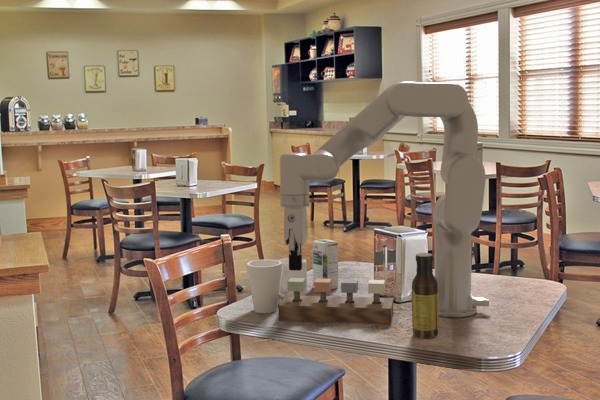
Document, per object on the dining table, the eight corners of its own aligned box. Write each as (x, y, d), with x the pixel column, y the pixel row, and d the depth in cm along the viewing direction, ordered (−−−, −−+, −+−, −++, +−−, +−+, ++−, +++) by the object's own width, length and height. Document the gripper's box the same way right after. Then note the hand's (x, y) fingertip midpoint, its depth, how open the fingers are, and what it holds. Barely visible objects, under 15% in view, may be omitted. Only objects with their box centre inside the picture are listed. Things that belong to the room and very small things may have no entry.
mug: (291, 303, 209) (290, 267, 208) (266, 300, 213) (265, 264, 212) (312, 293, 219) (311, 259, 218) (287, 290, 224) (287, 256, 222)
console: (393, 312, 198) (393, 298, 198) (391, 324, 189) (391, 308, 188) (286, 309, 203) (285, 295, 203) (278, 320, 194) (278, 305, 193)
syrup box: (312, 288, 226) (311, 240, 224) (326, 284, 230) (325, 238, 228) (325, 291, 221) (324, 243, 219) (339, 287, 225) (338, 240, 223)
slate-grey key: (358, 303, 197) (358, 279, 196) (356, 308, 193) (356, 283, 192) (343, 303, 197) (342, 279, 196) (341, 307, 193) (341, 282, 193)
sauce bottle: (423, 329, 184) (423, 250, 181) (443, 335, 179) (444, 253, 176) (406, 335, 179) (406, 254, 177) (427, 341, 175) (427, 258, 172)
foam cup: (244, 314, 200) (243, 266, 198) (251, 304, 209) (250, 259, 207) (280, 315, 198) (278, 267, 196) (285, 305, 207) (284, 259, 206)
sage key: (305, 302, 199) (305, 278, 198) (303, 306, 195) (302, 281, 194) (291, 301, 200) (290, 277, 199) (288, 306, 196) (287, 281, 195)
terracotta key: (331, 303, 198) (331, 278, 197) (329, 307, 194) (329, 282, 193) (316, 302, 199) (316, 278, 198) (314, 306, 195) (314, 282, 194)
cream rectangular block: (384, 304, 195) (384, 280, 194) (384, 308, 192) (383, 283, 191) (369, 304, 196) (369, 279, 195) (368, 308, 192) (368, 283, 191)
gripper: (304, 204, 186) (304, 276, 188) (313, 196, 200) (314, 263, 203) (274, 204, 187) (275, 276, 190) (286, 196, 202) (286, 263, 204)
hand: (295, 269), depth 196 cm, fingers closed
